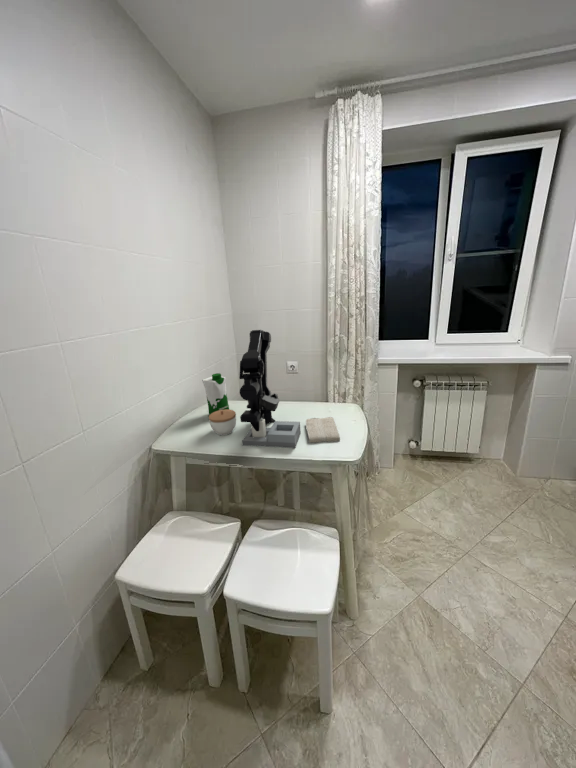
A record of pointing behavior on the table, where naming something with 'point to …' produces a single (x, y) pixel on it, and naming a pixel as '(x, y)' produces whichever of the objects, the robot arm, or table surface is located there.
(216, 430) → the lidded jar
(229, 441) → the table surface
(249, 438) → the socket panel
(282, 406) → the table surface
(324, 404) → the table surface
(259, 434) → the plug
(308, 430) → the washcloth
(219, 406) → the milk carton
